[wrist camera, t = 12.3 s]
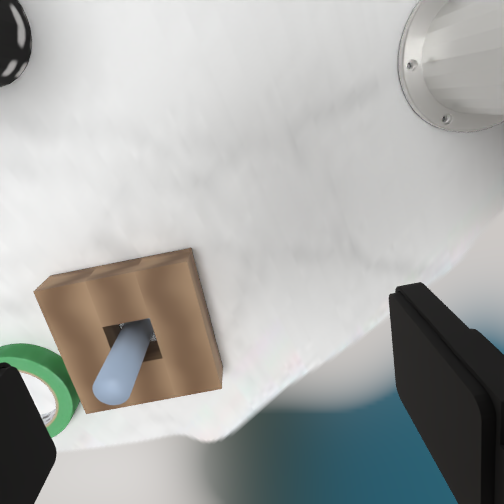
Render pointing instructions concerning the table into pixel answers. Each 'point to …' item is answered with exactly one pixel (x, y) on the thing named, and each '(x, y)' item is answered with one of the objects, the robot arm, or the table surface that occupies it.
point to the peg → (123, 363)
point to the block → (132, 309)
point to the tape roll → (46, 380)
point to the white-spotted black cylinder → (13, 41)
